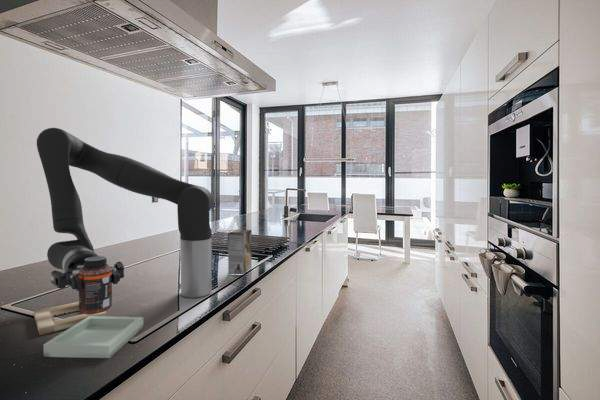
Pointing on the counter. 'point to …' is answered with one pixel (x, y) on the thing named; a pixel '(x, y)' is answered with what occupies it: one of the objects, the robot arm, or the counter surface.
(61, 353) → the tray
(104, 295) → the supplement bottle
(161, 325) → the counter surface
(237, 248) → the coffee box
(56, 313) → the frame
